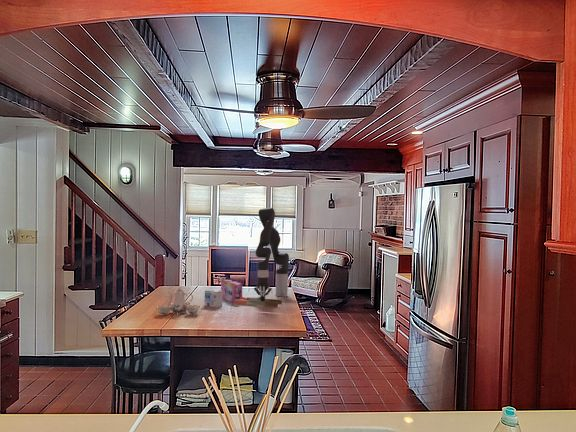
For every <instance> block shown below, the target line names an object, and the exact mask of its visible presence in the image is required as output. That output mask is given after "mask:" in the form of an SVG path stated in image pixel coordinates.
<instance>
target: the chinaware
mask: <svg viewBox="0 0 576 432" xmlns="http://www.w3.org/2000/svg"><path fill="white" fill-rule="evenodd" d="M168 294H169V296H168V300H167V305H165V304H162V305H157V308H155V311H156V312H155V313H157V314H159V315H161V316H162V315H166V316H167V315H168V314H169V313H170V311H171V312H172V314H174V313H184V314H186V313H187V312H188V313H189V315H190V314H195V315H196V314H199V309H201V311H200V312H202V311H203V308H202V307H201V305H198V304H193V305H191V302H192V301H193V299H194V296H193V294H192V293H190V292H188V293H186V291H185V290H183V289H182V288H181V287H179V288H178V289H177V290H175V291H174V294H175V295H174V301H173V302H172V298H173V293H172V292H171V291H168ZM188 294H189V295H190V296H191V299H190V300H189V301H186V299H185V296H187V295H188ZM157 310H158V311H157ZM185 312H186V313H185Z"/></svg>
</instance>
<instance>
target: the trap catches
mask: <svg viewBox="0 0 576 432" xmlns="http://www.w3.org/2000/svg"><path fill="white" fill-rule="evenodd" d="M247 300H250V297H246V296H242V297H240V300H236V299H235V302H234V304H241V306H246V304H247Z"/></svg>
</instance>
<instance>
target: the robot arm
mask: <svg viewBox="0 0 576 432" xmlns="http://www.w3.org/2000/svg"><path fill="white" fill-rule="evenodd" d="M258 217H259V220H260V223H261V225H262V226H263V229H262V230H261V232H260V236H259V242H258V244H257V248H256V250H255V256H256V257H257V258H263V260H260V261H258V263H257V265H258V266H257V284H256V286H255V287H254V288H253V289H254V291H255V292H256V294H257V296H261V301H265V299H266V296H268V295H269V294H270V293H271V291H272V290H273V288H272V287H270V285H269V280H270V279H269V277H270V275H269V273H270V272H269V262H270V258H271V256H272V257H273V261H274V263H275V264H276V265H281V267H279V268H277V269H276V270H275V296H276V297H287V296H288V289H289V287H288V285H289V284H288V283H289V282H288V280H289V278H288V277H289V266H290V265H289V264H290V255H289V253H288V252H280V251H279V246H280V244H281V236H280V233H279V231H278V229H276V228H275V227H274V222H275V218H276V212H275V210H274V208H273V207H266V208H260V209H259V210H258ZM269 246H270V247H269ZM271 254H272V255H271ZM264 258H265V259H264Z"/></svg>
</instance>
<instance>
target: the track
mask: <svg viewBox="0 0 576 432" xmlns="http://www.w3.org/2000/svg"><path fill="white" fill-rule="evenodd" d="M282 300H283V299H275V298H265V301H250V300H247V304H246V305H245V306H247V307H248V306H249V307H260V308H261V307H263V308H274V309H275V308H276V309H277V308H279V307H281V306H282V305H283V301H282ZM233 306H234V307H241V306H242V305H241V304H235V303H234V304H233Z"/></svg>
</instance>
